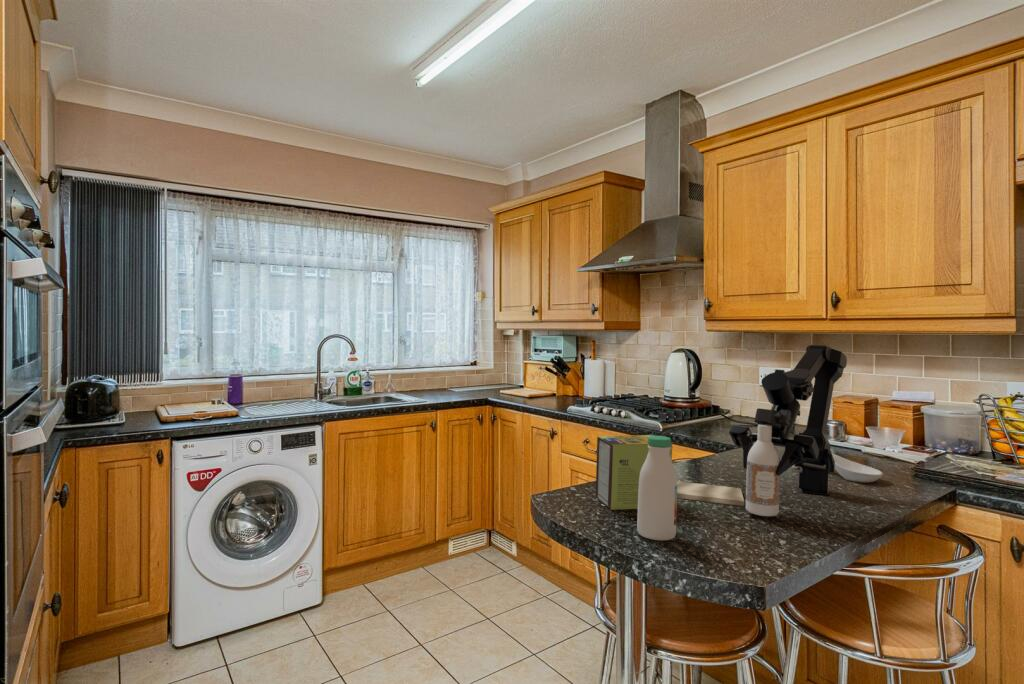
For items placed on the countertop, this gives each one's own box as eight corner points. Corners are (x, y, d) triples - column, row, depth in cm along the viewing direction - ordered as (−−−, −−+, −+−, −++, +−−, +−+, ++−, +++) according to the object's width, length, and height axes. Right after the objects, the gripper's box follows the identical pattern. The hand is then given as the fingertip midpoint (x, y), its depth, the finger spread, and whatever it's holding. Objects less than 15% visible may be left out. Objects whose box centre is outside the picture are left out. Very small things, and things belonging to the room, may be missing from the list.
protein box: (671, 508, 129) (673, 442, 129) (610, 510, 126) (612, 443, 125) (651, 494, 139) (653, 434, 139) (594, 497, 136) (596, 435, 136)
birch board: (740, 492, 143) (740, 488, 143) (744, 506, 132) (744, 501, 132) (676, 485, 148) (677, 481, 148) (675, 497, 137) (675, 493, 137)
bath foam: (747, 514, 122) (750, 426, 122) (743, 505, 129) (746, 421, 128) (781, 518, 120) (784, 428, 120) (776, 509, 127) (779, 423, 126)
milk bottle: (669, 544, 106) (673, 442, 106) (631, 535, 110) (634, 437, 110) (680, 533, 112) (683, 436, 112) (643, 525, 117) (647, 432, 116)
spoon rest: (887, 482, 160) (888, 457, 160) (875, 489, 152) (876, 463, 152) (801, 465, 177) (802, 444, 177) (787, 471, 169) (787, 448, 169)
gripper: (733, 391, 133) (710, 442, 126) (816, 400, 119) (795, 457, 112) (746, 420, 139) (725, 470, 132) (827, 432, 125) (808, 488, 118)
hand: (760, 471), depth 123 cm, fingers closed on bath foam, 7 cm apart
